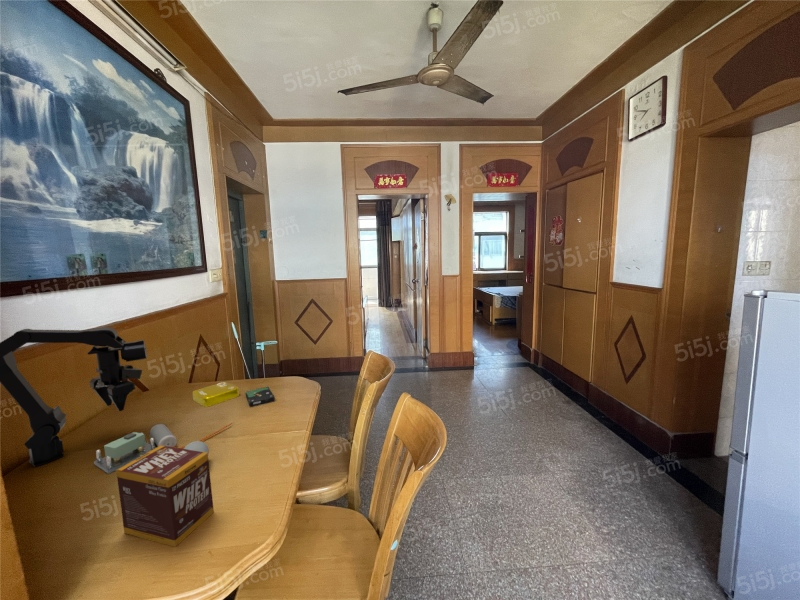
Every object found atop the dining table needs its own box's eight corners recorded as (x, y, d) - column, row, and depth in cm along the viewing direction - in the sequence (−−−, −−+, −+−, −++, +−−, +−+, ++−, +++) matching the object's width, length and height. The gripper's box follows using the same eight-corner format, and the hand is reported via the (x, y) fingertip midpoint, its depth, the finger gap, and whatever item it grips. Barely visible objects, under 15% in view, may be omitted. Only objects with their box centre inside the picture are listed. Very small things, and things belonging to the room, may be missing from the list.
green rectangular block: (116, 459, 99) (114, 446, 98) (105, 456, 100) (103, 443, 100) (145, 444, 107) (144, 432, 106) (135, 441, 108) (134, 430, 108)
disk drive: (275, 402, 144) (268, 391, 156) (275, 396, 143) (268, 385, 156) (250, 408, 138) (245, 396, 150) (249, 402, 138) (244, 391, 150)
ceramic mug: (210, 458, 102) (207, 435, 101) (207, 473, 95) (204, 448, 94) (170, 468, 98) (167, 444, 97) (163, 484, 90) (160, 459, 89)
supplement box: (176, 547, 70) (167, 480, 68) (123, 533, 74) (114, 469, 72) (215, 512, 80) (209, 452, 78) (167, 501, 84) (160, 444, 82)
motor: (161, 458, 103) (162, 442, 103) (145, 435, 117) (147, 421, 117) (237, 439, 120) (239, 425, 120) (216, 421, 135) (217, 409, 135)
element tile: (191, 400, 148) (190, 390, 148) (225, 389, 160) (224, 380, 160) (206, 408, 139) (205, 397, 139) (241, 396, 151) (240, 386, 150)
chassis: (108, 473, 96) (106, 459, 95) (94, 464, 100) (92, 450, 100) (158, 451, 107) (156, 438, 106) (143, 443, 112) (142, 431, 111)
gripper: (150, 361, 113) (155, 403, 115) (125, 355, 122) (130, 394, 124) (109, 370, 104) (116, 417, 105) (86, 363, 113) (92, 406, 115)
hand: (115, 408), depth 113 cm, fingers open, 9 cm apart
